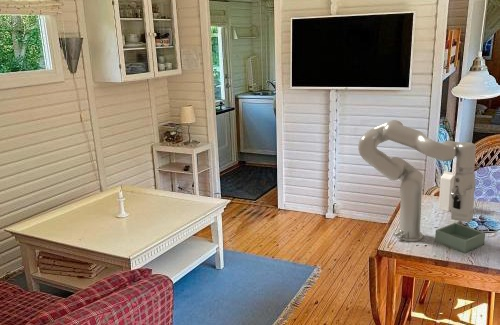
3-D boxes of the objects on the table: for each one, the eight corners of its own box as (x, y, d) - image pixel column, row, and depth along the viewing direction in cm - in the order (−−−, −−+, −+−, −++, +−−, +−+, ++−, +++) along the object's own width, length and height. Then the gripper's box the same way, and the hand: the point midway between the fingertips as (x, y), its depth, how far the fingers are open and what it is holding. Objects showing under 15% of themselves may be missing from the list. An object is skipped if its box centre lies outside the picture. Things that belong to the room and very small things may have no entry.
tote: (464, 253, 201) (465, 241, 200) (435, 241, 214) (435, 230, 213) (484, 244, 208) (485, 233, 207) (454, 233, 221) (455, 222, 220)
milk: (448, 211, 249) (450, 174, 243) (438, 208, 254) (440, 171, 248) (454, 208, 253) (456, 171, 247) (444, 206, 258) (446, 169, 252)
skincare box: (473, 218, 208) (475, 187, 204) (468, 223, 203) (471, 191, 199) (454, 215, 213) (456, 184, 209) (449, 219, 208) (451, 187, 205)
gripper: (460, 175, 195) (457, 213, 199) (484, 167, 203) (481, 204, 208) (445, 171, 201) (443, 208, 205) (469, 164, 209) (466, 200, 214)
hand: (462, 206), depth 207 cm, fingers closed on skincare box, 7 cm apart
